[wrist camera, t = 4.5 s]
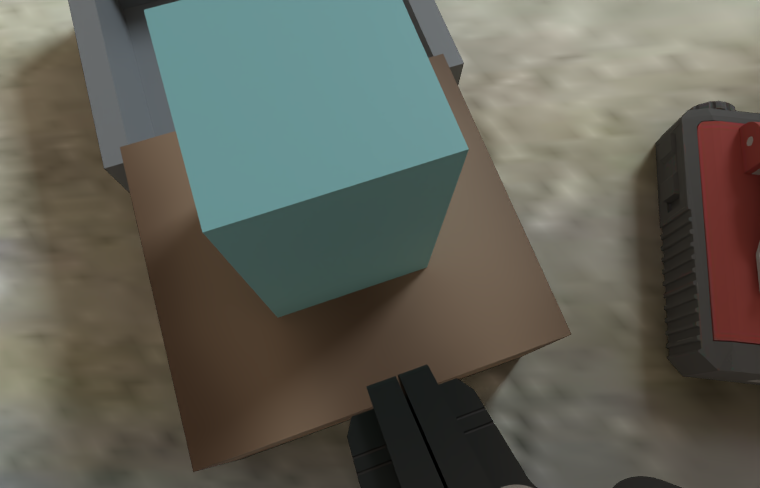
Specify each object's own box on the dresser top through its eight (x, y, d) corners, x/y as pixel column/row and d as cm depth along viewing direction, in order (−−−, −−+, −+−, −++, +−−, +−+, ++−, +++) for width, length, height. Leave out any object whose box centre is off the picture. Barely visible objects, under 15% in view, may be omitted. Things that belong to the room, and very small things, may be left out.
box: (365, -57, 30) (364, -149, 25) (447, 128, 26) (464, 63, 21) (106, 10, 28) (51, -74, 23) (156, 218, 24) (103, 168, 20)
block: (376, 137, 19) (379, -52, 12) (427, 267, 18) (468, 149, 10) (236, 179, 19) (143, 9, 11) (277, 317, 17) (201, 232, 9)
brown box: (427, 135, 26) (443, 53, 20) (521, 356, 23) (571, 334, 17) (178, 211, 25) (119, 146, 19) (241, 459, 21) (193, 472, 16)
